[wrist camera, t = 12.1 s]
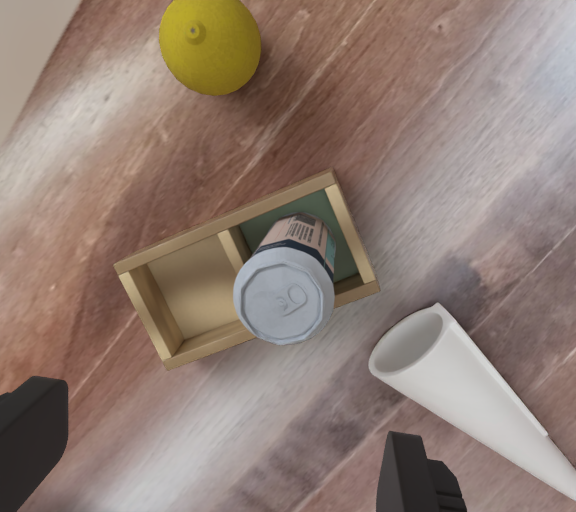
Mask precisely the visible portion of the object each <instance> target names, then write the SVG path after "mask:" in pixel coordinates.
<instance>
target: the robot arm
mask: <svg viewBox="0 0 576 512" xmlns="http://www.w3.org/2000/svg"><path fill="white" fill-rule="evenodd" d="M67 440H68V385H67V383H66V381H64V380H60V379H53V378H47V377H40V376H33V377H31V378H29V379H28V380H27V381H26V382H24V383H23V384H22V385H21V386H19V387H18V388H17V389H16V390H14V391H13V392H12V393H8V392H7V393H5V394H3V395H0V512H17V510H18V509H19V508H20V507H21V506H22V504H23V503H24V502H25V501H26V500H27V499H28V497H29V496H30V495H31V494H32V493H33V491H34V490H35V489H36V488H37V487H38V485H39V484H40V483H41V482H42V481H43V480H44V478H45V477H46V476H47V475H48V474H49V472H50V471H51V470H52V469H53V468H54V466H55V465H56V464H57V463H58V462H59V460H60V459H61V457H62V455H63V453H64V451H65V448H66V445H67ZM376 512H467V508H466V505H465V502H464V499H462V493H461V490H460V487H459V484H458V481H457V478H456V477H455V476H454V474H453V473H452V472H451V471H450V470H449V469H448V467H447V466H446V465H445V464H444V463H443V462H442V461H437V460H431V459H427V456H426V452H425V449H424V445H423V441H422V438H421V436H419V435H412V434H406V433H399V432H393V431H389V432H388V435H387V439H386V444H385V450H384V455H383V461H382V466H381V471H380V477H379V482H378V489H377V499H376Z"/></svg>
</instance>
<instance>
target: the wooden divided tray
mask: <svg viewBox="0 0 576 512" xmlns="http://www.w3.org/2000/svg"><path fill="white" fill-rule="evenodd" d="M295 212H305V213H309V214H312V215H315V216H317V217H319V218H320V219H322V220H323V221H324V222H325V223H326V224H327V225H328V227H329V228H330V229H331V231H332V233H333V235H334V238H335V243H336V251H335V257H334V276H333V287H334V295H335V299H334V308H337V307H340V306H342V305H345V304H348V303H350V302H353V301H356V300H358V299H361V298H364V297H366V296H369V295H372V294H374V293H377V292H380V286H379V282H378V279H377V275H376V272H375V270H374V267H373V265H372V263H371V260H370V258H369V255H368V253H367V250H366V248H365V245H364V243H363V241H362V238H361V236H360V233H359V231H358V228H357V226H356V224H355V221H354V219H353V216H352V214H351V211H350V209H349V207H348V204H347V202H346V199H345V197H344V194H343V192H342V189H341V187H340V185H339V182H338V180H337V177H336V175H335V172H334V170H333V168H332V167H331V168H328V169H326V170H324V171H321V172H319V173H317V174H314V175H312V176H310V177H307V178H305V179H303V180H300V181H298V182H296V183H294V184H291V185H289V186H287V187H284V188H282V189H280V190H277V191H275V192H273V193H270V194H268V195H266V196H263V197H261V198H259V199H256V200H254V201H252V202H249V203H247V204H245V205H242V206H240V207H238V208H235V209H233V210H231V211H228V212H226V213H224V214H221V215H219V216H217V217H214V218H212V219H210V220H207V221H205V222H203V223H201V224H198V225H196V226H194V227H191V228H189V229H187V230H184V231H182V232H180V233H177V234H175V235H173V236H170V237H168V238H166V239H163V240H161V241H159V242H156V243H154V244H152V245H149V246H147V247H145V248H142V249H140V250H138V251H135V252H133V253H132V254H130V255H128V256H127V257H125V258H123V259H122V260H120V261H118V262H117V263H115V264H114V265H113V266H114V268H115V270H116V272H117V274H118V275H119V278H120V280H121V282H122V284H123V286H124V288H125V290H126V292H127V294H128V295H129V297H130V299H131V301H132V303H133V305H134V307H135V309H136V311H137V313H138V315H139V317H140V319H141V321H142V323H143V325H144V327H145V329H146V330H147V332H148V334H149V336H150V338H151V340H152V342H153V344H154V346H155V348H156V350H157V352H158V354H159V356H160V358H161V360H162V361H163V364H164V366H165V367H166V369H167V371H169V370H171V369H174V368H177V367H179V366H182V365H185V364H187V363H190V362H193V361H195V360H198V359H201V358H203V357H206V356H209V355H211V354H214V353H217V352H219V351H222V350H225V349H227V348H230V347H233V346H235V345H238V344H241V343H243V342H246V341H249V340H251V339H254V338H257V337H256V336H254V335H253V334H252V333H251V332H250V331H249V330H248V329H247V328H246V327H245V326H244V325H243V323H242V322H241V320H240V319H239V317H238V315H237V313H236V310H235V306H234V302H233V289H234V283H235V280H236V277H237V275H238V273H239V271H240V269H241V268H242V267H243V266H244V264H245V263H246V262H247V261H248V260H249V259H250V258H251V256H252V255H253V253H254V252H255V250H256V249H257V247H258V246H259V245H260V243H261V242H262V240H263V239H264V237H265V236H266V234H267V233H268V231H269V229H270V227H271V226H272V225H273V224H274V222H275V221H277V220H278V219H279V218H281V217H282V216H284V215H287V214H290V213H295ZM334 308H333V309H334Z"/></svg>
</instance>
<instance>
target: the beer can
mask: <svg viewBox="0 0 576 512" xmlns="http://www.w3.org/2000/svg"><path fill="white" fill-rule="evenodd" d="M335 251H336V243H335V238H334V235H333V233H332V231H331V229H330V228H329V227H328V225H327V224H326V223H325V222H324V221H323V220H322V219H320V218H319V217H317V216H315V215H312V214H309V213H305V212H295V213H290V214H287V215H284V216H282V217H281V218H279V219H278V220H277V221H275V222H274V224H273V225H272V226H271V227H270V229H269V231H268V233H267V234H266V236H265V237H264V239H263V240H262V242H261V243H260V245H259V246H258V247H257V249H256V250H255V252H254V253H253V255H252V256H251V258H250V259H249V260H248V261H247V262H246V263H245V264H244V266H243V267H242V268H241V269H240V271H239V273H238V275H237V277H236V280H235V283H234V289H233V302H234V306H235V310H236V313H237V315H238V317H239V319H240V320H241V322H242V323H243V325H244V326H245V327H246V328H247V329H248V330H249V331H250V332H251V333H252V334H253V335H254V336H256V337H258V338H260V339H262V340H265V341H267V342H270V343H273V344H277V345H291V344H298V343H301V342H304V341H306V340H308V339H311V338H312V337H314V336H315V335H316V334H318V333H319V332H320V331H321V330H322V329H323V328H324V327H325V325H326V324H327V322H328V321H329V319H330V317H331V315H332V312H333V308H334V299H335V295H334V287H333V276H334V257H335Z"/></svg>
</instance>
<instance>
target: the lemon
mask: <svg viewBox="0 0 576 512" xmlns="http://www.w3.org/2000/svg"><path fill="white" fill-rule="evenodd" d="M159 43H160V48H161V53H162V56H163V58H164V60H165V63H166V65H167V67H168V68H169V70H170V71H171V72H172V74H173V75H174V76H175V77H176V79H177V80H178V81H180V82H181V83H182V84H184V85H185V86H186V87H187V88H189V89H191V90H194V91H196V92H198V93H200V94H206V95H212V96H216V95H225V94H228V93H231V92H233V91H236V90H238V89H239V88H240V87H242V86H243V85H244V84H246V83H247V82H248V81H249V79H250V78H251V77H252V76H253V74H254V73H255V70H256V68H257V66H258V64H259V59H260V54H261V37H260V33H259V30H258V26H257V23H256V21H255V20H254V18H253V16H252V14H251V13H250V11H249V10H248V9H247V8H246V7H245V6H244V5H243V4H242V2H241V1H240V0H174V1H173V2H172V3H171V4H170V5H169V6H168V8H167V10H166V11H165V13H164V15H163V17H162V21H161V25H160V29H159Z"/></svg>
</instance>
